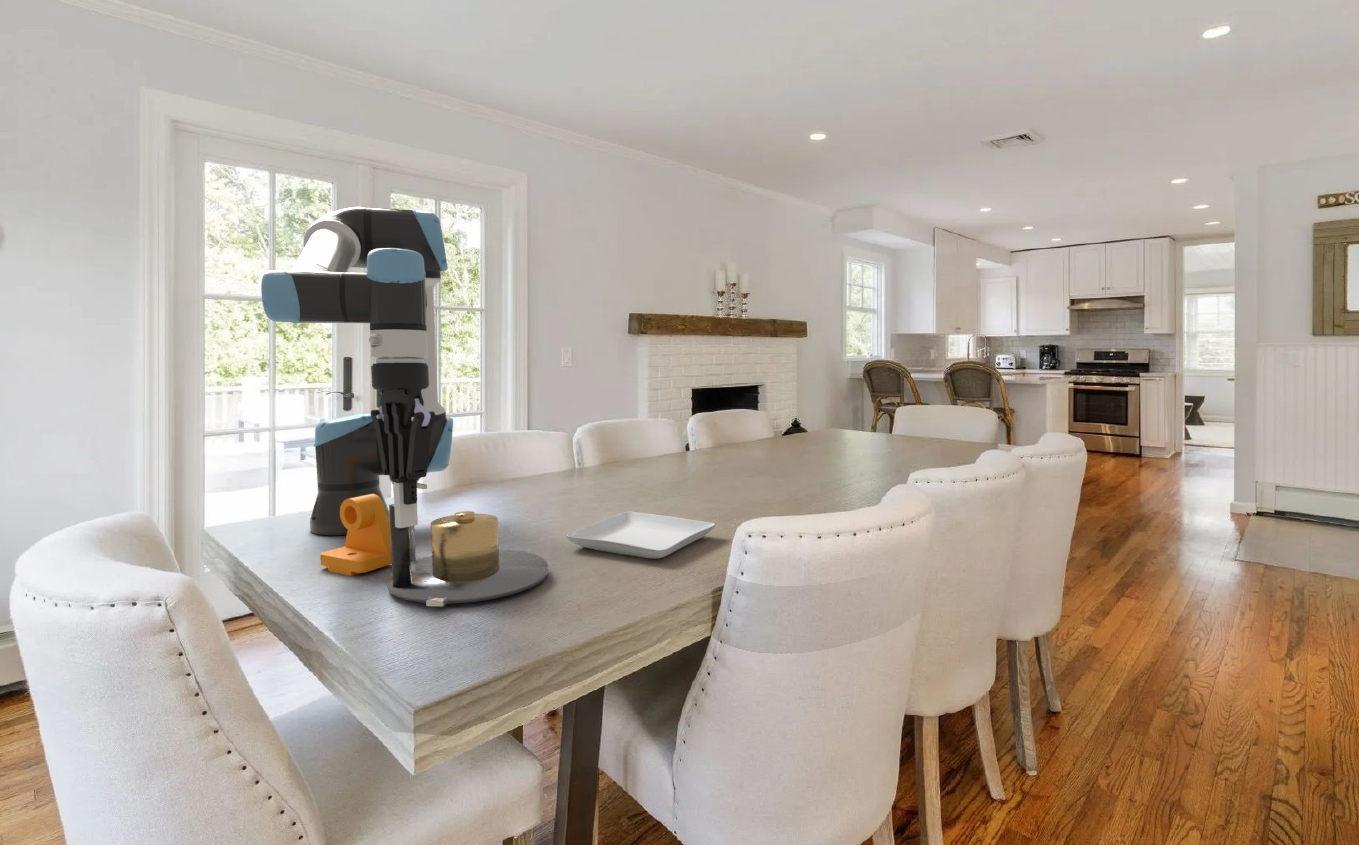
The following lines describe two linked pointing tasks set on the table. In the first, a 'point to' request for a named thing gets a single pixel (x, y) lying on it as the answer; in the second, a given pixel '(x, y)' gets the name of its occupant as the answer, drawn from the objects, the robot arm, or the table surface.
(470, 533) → the cover
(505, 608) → the table surface
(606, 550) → the salad plate
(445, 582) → the turntable
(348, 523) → the bracket
